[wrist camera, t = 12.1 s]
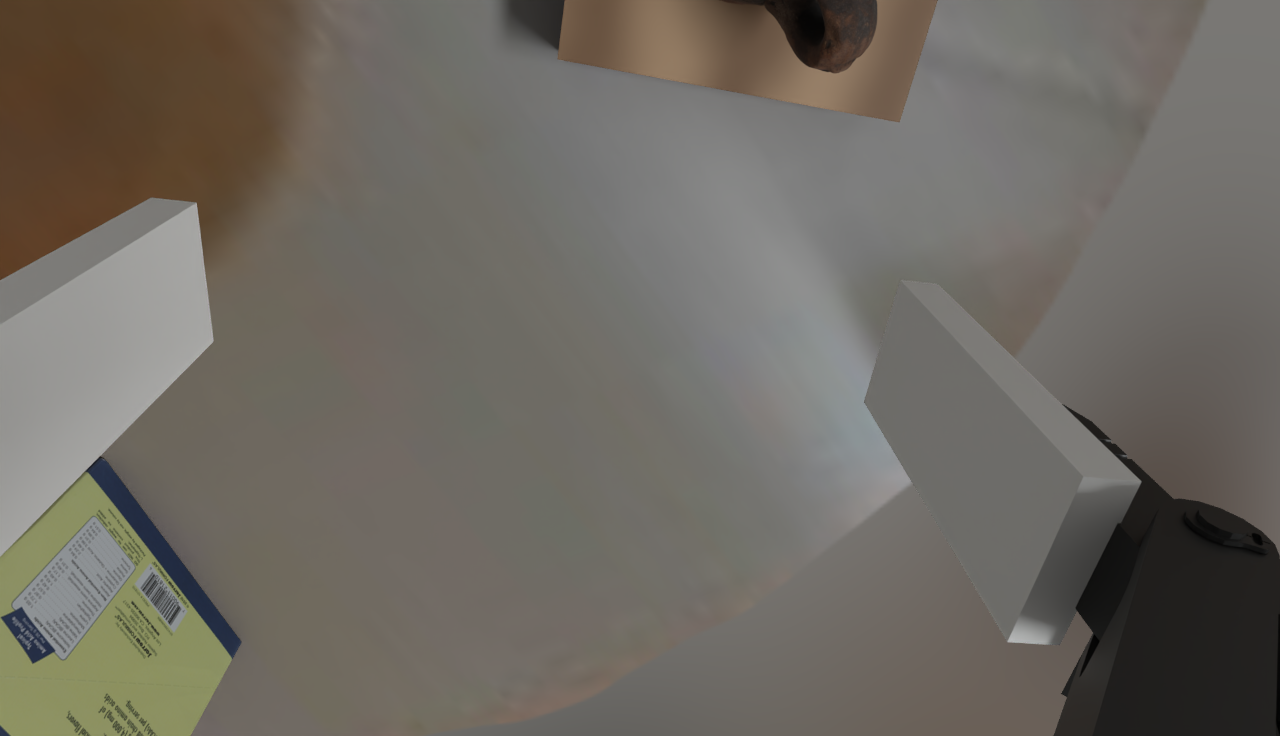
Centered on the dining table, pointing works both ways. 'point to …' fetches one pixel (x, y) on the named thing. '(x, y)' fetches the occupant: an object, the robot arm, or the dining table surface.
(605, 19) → the tan plinth
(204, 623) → the protein box
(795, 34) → the broken clay pot rim
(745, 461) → the dining table surface
